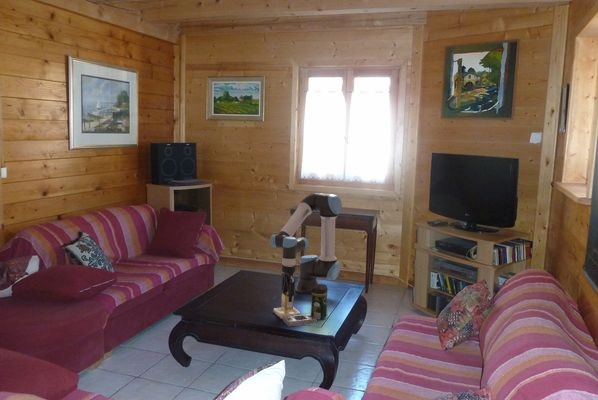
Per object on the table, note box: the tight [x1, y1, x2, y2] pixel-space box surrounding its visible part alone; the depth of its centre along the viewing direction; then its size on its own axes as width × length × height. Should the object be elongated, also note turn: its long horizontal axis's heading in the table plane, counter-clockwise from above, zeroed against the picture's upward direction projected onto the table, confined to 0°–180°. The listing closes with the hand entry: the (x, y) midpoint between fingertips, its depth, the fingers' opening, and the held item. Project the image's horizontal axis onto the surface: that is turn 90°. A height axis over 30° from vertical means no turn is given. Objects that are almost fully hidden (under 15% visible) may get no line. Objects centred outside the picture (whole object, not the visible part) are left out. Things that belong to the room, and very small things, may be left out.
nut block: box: [280, 292, 295, 313], centre depth 289 cm, size 5×5×10 cm
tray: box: [273, 306, 302, 320], centre depth 290 cm, size 12×12×2 cm
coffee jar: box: [310, 283, 328, 321], centre depth 286 cm, size 10×8×19 cm
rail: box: [282, 313, 317, 327], centre depth 279 cm, size 16×8×2 cm, turn 114°
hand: (287, 305), depth 290 cm, fingers closed on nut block, 5 cm apart
